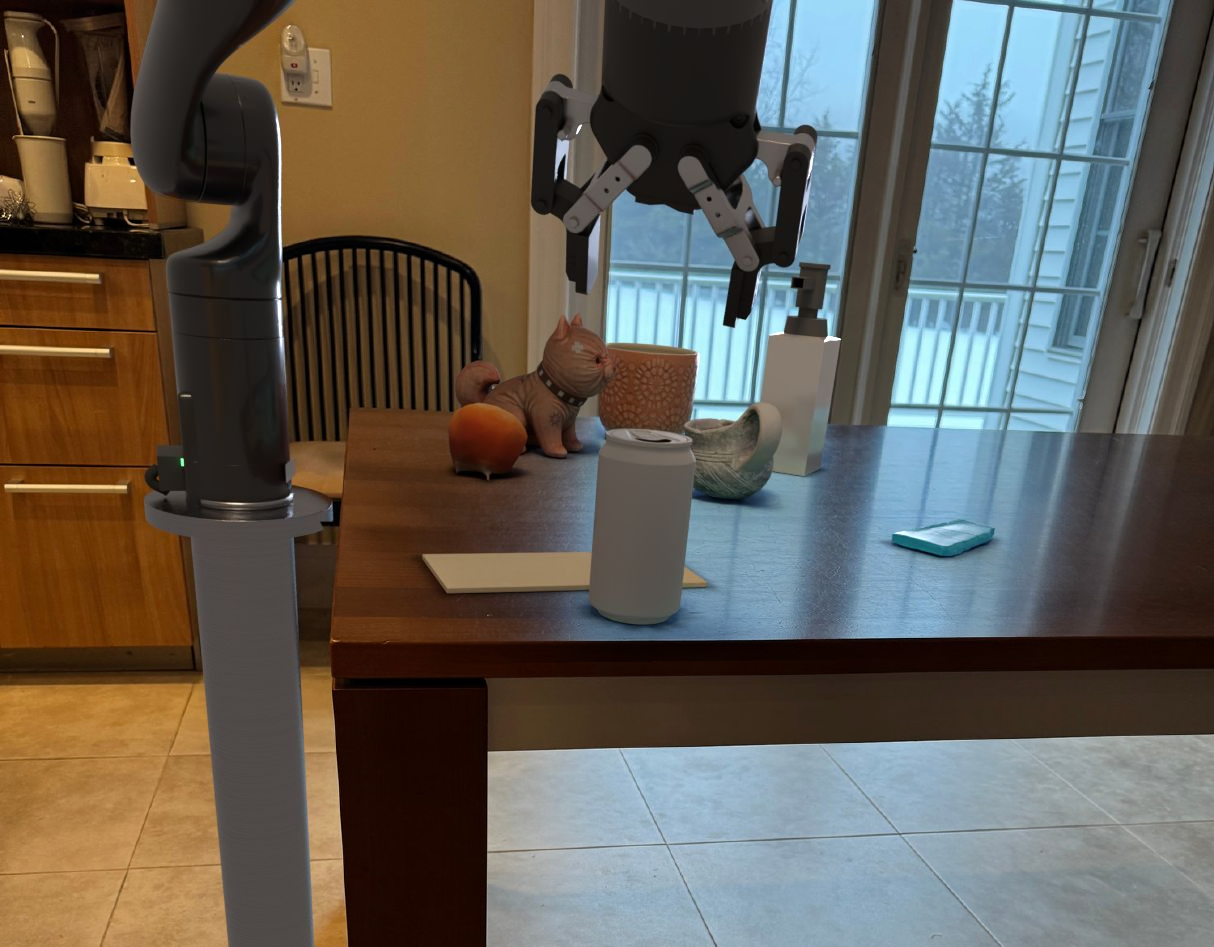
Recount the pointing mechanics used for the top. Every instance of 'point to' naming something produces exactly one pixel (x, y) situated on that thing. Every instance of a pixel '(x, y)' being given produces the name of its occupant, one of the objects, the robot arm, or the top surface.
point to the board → (520, 572)
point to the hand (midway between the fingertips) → (658, 301)
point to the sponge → (945, 537)
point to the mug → (735, 451)
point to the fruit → (485, 439)
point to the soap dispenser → (802, 376)
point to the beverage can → (641, 524)
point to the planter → (649, 387)
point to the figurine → (546, 386)
